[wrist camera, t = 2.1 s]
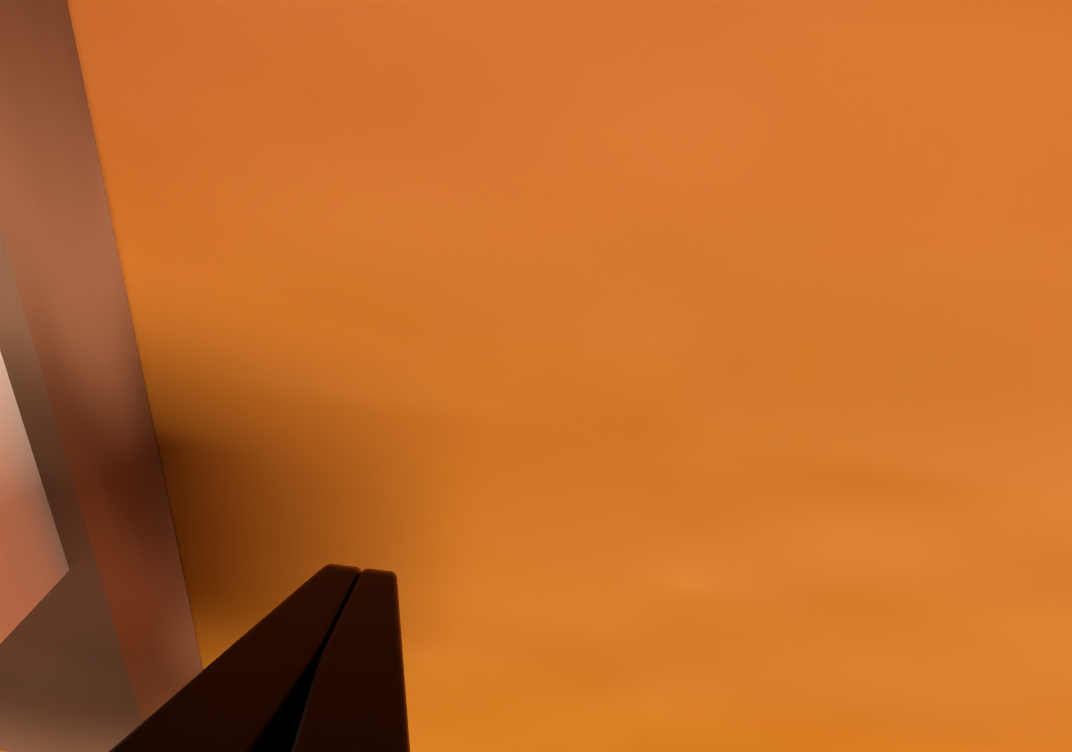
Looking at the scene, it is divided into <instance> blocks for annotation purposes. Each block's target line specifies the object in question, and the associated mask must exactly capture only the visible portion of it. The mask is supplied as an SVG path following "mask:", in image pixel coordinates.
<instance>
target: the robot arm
mask: <svg viewBox="0 0 1072 752" xmlns="http://www.w3.org/2000/svg"><path fill="white" fill-rule="evenodd" d="M109 752H410V744H409V731H408V718H407V705H406V691H405V678H404V665H403V652H402V638H401V625H400V612H399V599H398V585H397V576H396V574H395V573H394V572H391V571H383V570H375V569H365V570H363V571H362V572H361V570H360V569H359V568H357V567H352V566H344V565H336V564H329V565H326V566H325V567H323V568H322V569H321V570H319V571H318V572H317V573H316V574H315V575H314V576H312V577H311V578H310V579H309V580H308V581H307V582H305V583H304V584H303V585H302V586H301V587H300V588H298V589H297V590H296V591H295V592H294V593H293V594H291V595H290V596H289V597H288V598H287V599H286V600H284V601H283V602H282V603H281V604H280V605H279V606H277V607H276V608H275V609H274V610H273V611H272V612H270V613H269V614H268V615H267V616H266V617H265V618H263V619H262V620H261V621H260V622H259V623H258V624H256V625H255V626H254V627H253V628H252V629H251V630H249V631H248V632H247V633H246V634H245V635H244V636H242V637H241V638H240V639H239V640H238V641H237V642H236V643H234V644H233V645H232V646H231V647H230V648H229V649H227V650H226V651H225V652H224V653H223V654H222V655H220V656H219V657H218V658H217V659H216V660H215V661H213V662H212V663H211V664H210V665H209V666H208V667H206V668H205V669H204V670H203V671H202V672H201V673H199V674H198V675H197V676H196V677H195V678H194V679H192V680H191V681H190V682H189V683H188V684H187V685H185V686H184V687H183V688H182V689H181V690H180V691H178V692H177V693H176V694H175V695H174V696H173V697H171V698H170V699H169V700H168V701H167V702H166V703H164V704H163V705H162V706H161V707H160V708H159V709H157V710H156V711H155V712H154V713H153V714H152V715H151V716H149V717H148V718H147V719H146V720H145V721H144V722H142V723H141V724H140V725H139V726H138V727H137V728H135V729H134V730H133V731H132V732H131V733H130V734H128V735H127V736H126V737H125V738H124V739H123V740H121V741H120V742H119V743H118V744H117V745H116V746H114V747H113V748H112V749H111V750H110V751H109Z"/></svg>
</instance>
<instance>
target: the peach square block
mask: <svg viewBox="0 0 1072 752" xmlns="http://www.w3.org/2000/svg"><path fill="white" fill-rule="evenodd" d="M68 571H69V567H68V563H67V560H66V557H65V554H64V551H63V548H62V544H61V541H60V538H59V535H58V532H57V529H56V525H55V522H54V519H53V516H52V513H51V510H50V506H49V503H48V500H47V497H46V494H45V491H44V487H43V484H42V481H41V478H40V475H39V472H38V468H37V465H36V462H35V459H34V456H33V453H32V449H31V446H30V443H29V440H28V437H27V434H26V430H25V427H24V424H23V421H22V418H21V415H20V411H19V408H18V405H17V402H16V399H15V396H14V392H13V389H12V386H11V383H10V380H9V377H8V373H7V370H6V367H5V364H4V361H3V358H2V354H1V351H0V644H1V643H2V642H3V641H4V639H5V638H6V637H7V636H8V635H9V634H10V633H11V632H12V631H13V630H14V629H15V628H16V627H17V626H18V625H19V623H20V622H21V621H22V620H23V619H24V618H25V617H26V616H27V615H28V614H29V613H30V612H31V611H32V610H33V609H34V607H35V606H36V605H37V604H38V603H39V602H40V601H41V600H42V599H43V598H44V597H45V596H46V595H47V594H48V592H49V591H50V590H51V589H52V588H53V587H54V586H55V585H56V584H57V583H58V582H59V581H60V580H61V579H62V578H63V576H64V575H65V574H66V573H67V572H68Z"/></svg>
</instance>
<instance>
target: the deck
mask: <svg viewBox="0 0 1072 752" xmlns="http://www.w3.org/2000/svg"><path fill="white" fill-rule="evenodd" d="M0 351H1V354H2V358H3V361H4V364H5V367H6V370H7V373H8V377H9V380H10V383H11V386H12V389H13V392H14V396H15V399H16V402H17V405H18V408H19V411H20V415H21V418H22V421H23V424H24V427H25V430H26V434H27V437H28V440H29V443H30V446H31V449H32V453H33V456H34V459H35V462H36V465H37V468H38V472H39V475H40V478H41V481H42V484H43V487H44V491H45V494H46V497H47V500H48V503H49V506H50V510H51V513H52V516H53V519H54V522H55V525H56V529H57V532H58V535H59V538H60V541H61V544H62V548H63V551H64V554H65V557H66V560H67V563H68V567H69V571H68V572H67V573H66V574H65V575H64V576H63V578H62V579H61V580H60V581H59V582H58V583H57V584H56V585H55V586H54V587H53V588H52V589H51V590H50V591H49V592H48V594H47V595H46V596H45V597H44V598H43V599H42V600H41V601H40V602H39V603H38V604H37V605H36V606H35V607H34V609H33V610H32V611H31V612H30V613H29V614H28V615H27V616H26V617H25V618H24V619H23V620H22V621H21V622H20V623H19V625H18V626H17V627H16V628H15V629H14V630H13V631H12V632H11V633H10V634H9V635H8V636H7V637H6V638H5V639H4V641H3V642H2V643H1V644H0V750H3V751H11V752H109V751H110V750H111V749H112V748H113V747H114V746H116V745H117V744H118V743H119V742H120V741H121V740H123V739H124V738H125V737H126V736H127V735H128V734H130V733H131V732H132V731H133V730H134V729H135V728H137V727H138V726H139V725H140V724H141V723H142V722H144V721H145V720H146V719H147V718H148V717H149V716H151V715H152V714H153V713H154V712H155V711H156V710H157V709H159V708H160V707H161V706H162V705H163V704H164V703H166V702H167V701H168V700H169V699H170V698H171V697H173V696H174V695H175V694H176V693H177V692H178V691H180V690H181V689H182V688H183V687H184V686H185V685H187V684H188V683H189V682H190V681H191V680H192V679H194V678H195V677H196V676H197V675H198V674H199V673H201V672H202V671H203V669H202V664H201V659H200V654H199V649H198V644H197V639H196V634H195V629H194V624H193V620H192V615H191V610H190V605H189V600H188V595H187V590H186V585H185V580H184V575H183V570H182V565H181V560H180V555H179V551H178V546H177V541H176V536H175V531H174V526H173V521H172V516H171V511H170V506H169V501H168V496H167V491H166V487H165V482H164V477H163V472H162V467H161V462H160V457H159V452H158V447H157V442H156V437H155V432H154V427H153V422H152V418H151V413H150V408H149V403H148V398H147V393H146V388H145V383H144V378H143V373H142V368H141V363H140V358H139V354H138V349H137V344H136V339H135V334H134V329H133V324H132V319H131V314H130V309H129V304H128V299H127V294H126V290H125V285H124V280H123V275H122V270H121V265H120V260H119V255H118V250H117V245H116V240H115V235H114V230H113V225H112V221H111V216H110V211H109V206H108V201H107V196H106V191H105V186H104V181H103V176H102V171H101V166H100V161H99V157H98V152H97V147H96V142H95V137H94V132H93V127H92V122H91V117H90V112H89V107H88V102H87V97H86V93H85V88H84V83H83V78H82V73H81V68H80V63H79V58H78V53H77V48H76V43H75V38H74V33H73V28H72V24H71V19H70V14H69V9H68V4H67V0H0Z"/></svg>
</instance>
